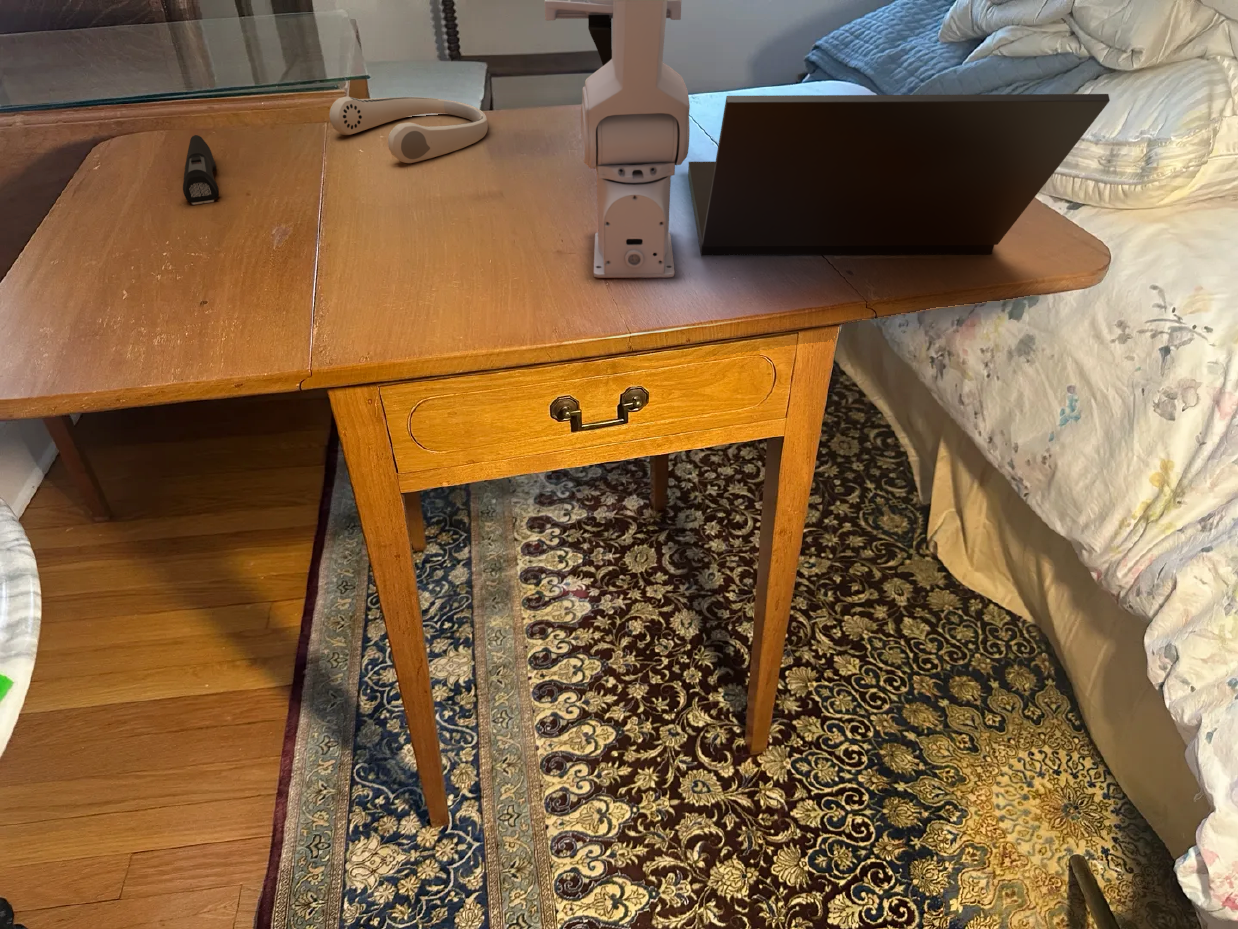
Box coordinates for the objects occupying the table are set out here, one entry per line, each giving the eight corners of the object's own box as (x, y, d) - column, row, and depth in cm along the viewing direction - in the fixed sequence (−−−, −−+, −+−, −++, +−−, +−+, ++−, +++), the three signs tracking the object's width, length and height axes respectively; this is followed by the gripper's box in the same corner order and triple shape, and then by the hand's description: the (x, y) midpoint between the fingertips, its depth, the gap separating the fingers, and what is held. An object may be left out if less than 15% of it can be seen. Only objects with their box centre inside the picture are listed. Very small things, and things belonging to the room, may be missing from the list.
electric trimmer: (219, 156, 111) (211, 131, 109) (221, 200, 100) (212, 173, 98) (188, 160, 110) (179, 135, 108) (186, 206, 99) (176, 178, 97)
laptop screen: (726, 94, 68) (726, 102, 67) (1108, 92, 68) (1110, 100, 67) (702, 239, 88) (702, 246, 87) (996, 237, 88) (997, 244, 87)
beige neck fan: (439, 104, 125) (434, 68, 122) (512, 134, 116) (509, 96, 113) (329, 136, 116) (321, 98, 112) (400, 171, 107) (393, 131, 103)
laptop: (687, 175, 105) (688, 160, 104) (934, 174, 105) (937, 159, 104) (701, 255, 89) (702, 238, 88) (991, 254, 89) (996, 237, 88)
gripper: (680, -57, 92) (675, 77, 101) (544, -57, 92) (551, 77, 101) (684, -44, 87) (679, 96, 95) (540, -44, 87) (548, 97, 95)
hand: (613, 88), depth 98 cm, fingers closed
